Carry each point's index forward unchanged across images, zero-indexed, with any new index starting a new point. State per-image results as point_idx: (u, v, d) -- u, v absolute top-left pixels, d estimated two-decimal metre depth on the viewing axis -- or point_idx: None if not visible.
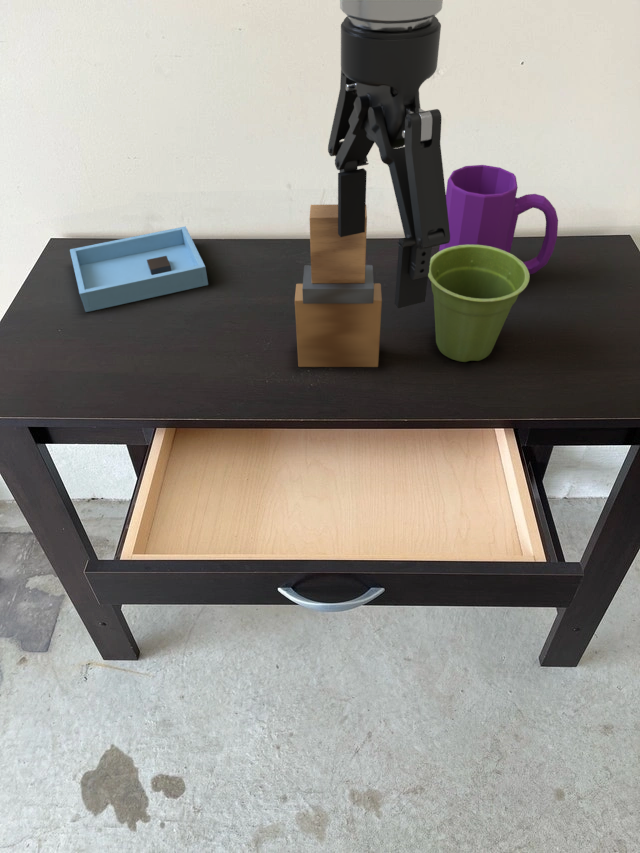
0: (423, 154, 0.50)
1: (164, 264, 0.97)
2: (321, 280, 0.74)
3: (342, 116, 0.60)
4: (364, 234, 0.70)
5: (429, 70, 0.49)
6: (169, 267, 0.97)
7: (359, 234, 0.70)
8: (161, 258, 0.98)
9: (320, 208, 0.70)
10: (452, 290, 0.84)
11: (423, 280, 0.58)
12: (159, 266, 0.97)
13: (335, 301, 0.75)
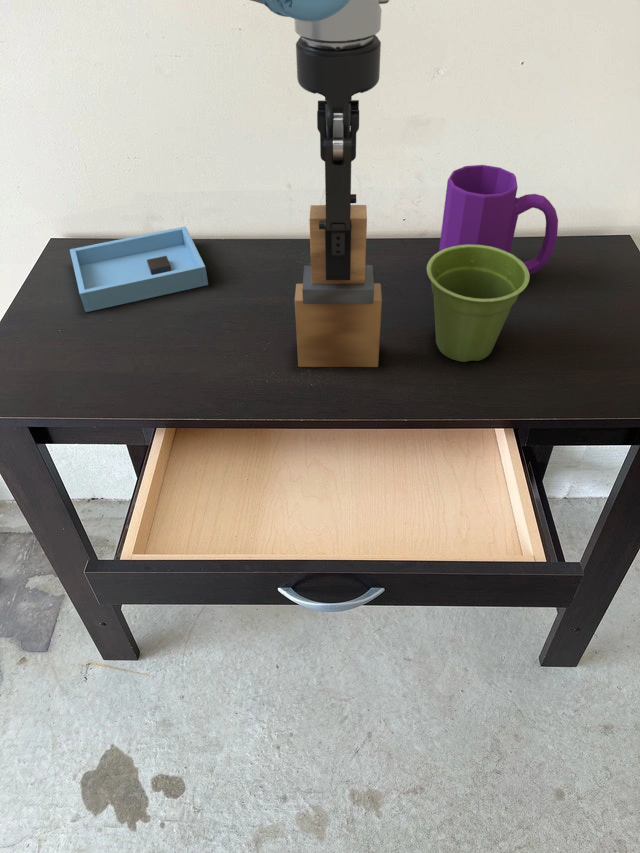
0: (335, 170, 0.60)
1: (164, 264, 0.97)
2: (321, 280, 0.74)
3: None
4: (364, 235, 0.70)
5: (359, 86, 0.58)
6: (169, 267, 0.97)
7: (359, 235, 0.70)
8: (161, 258, 0.98)
9: (320, 209, 0.70)
10: (452, 290, 0.84)
11: (346, 261, 0.71)
12: (159, 266, 0.97)
13: (335, 301, 0.75)
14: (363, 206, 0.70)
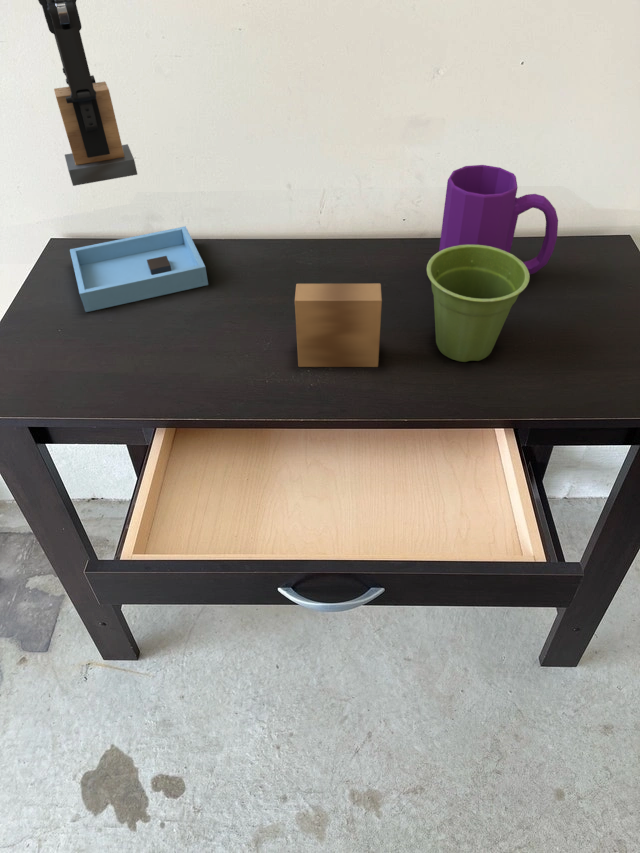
0: (65, 34, 0.68)
1: (164, 264, 0.97)
2: (84, 160, 0.81)
3: None
4: (111, 107, 0.78)
5: None
6: (169, 267, 0.97)
7: (106, 107, 0.78)
8: (161, 258, 0.98)
9: (64, 89, 0.77)
10: (452, 290, 0.84)
11: (101, 134, 0.79)
12: (159, 266, 0.97)
13: (102, 178, 0.82)
14: (102, 82, 0.78)
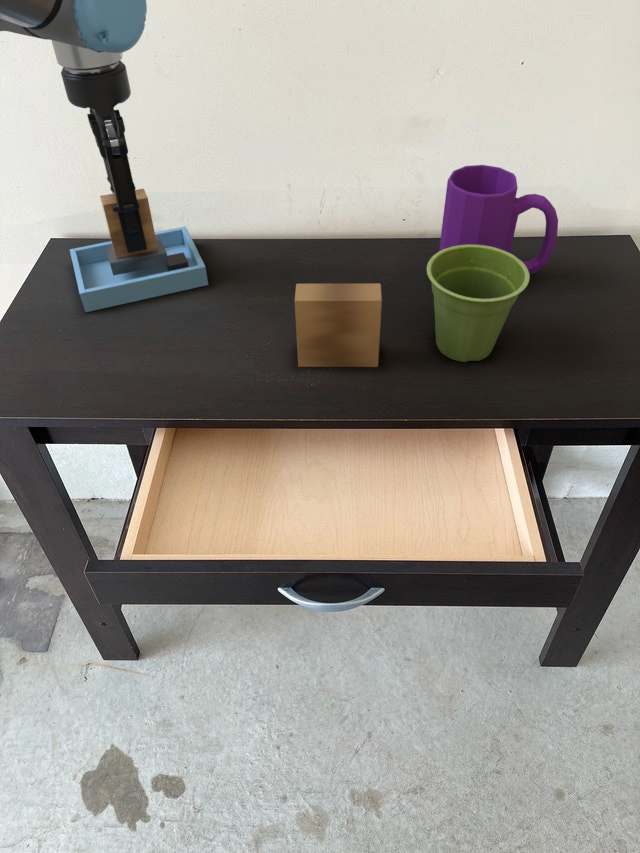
0: (116, 162, 0.80)
1: (181, 261, 0.98)
2: (123, 254, 0.93)
3: None
4: (148, 211, 0.90)
5: (118, 98, 0.78)
6: (186, 264, 0.98)
7: (145, 211, 0.90)
8: (178, 255, 0.99)
9: (108, 197, 0.89)
10: (452, 290, 0.84)
11: (140, 234, 0.91)
12: (177, 263, 0.97)
13: (138, 268, 0.94)
14: (141, 190, 0.91)
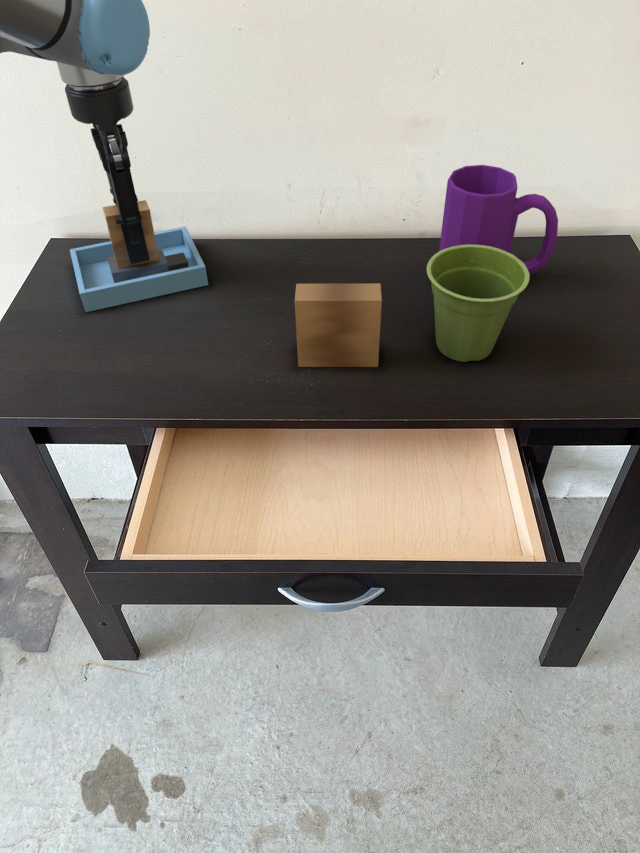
0: (119, 176, 0.82)
1: (181, 261, 0.98)
2: (125, 264, 0.94)
3: None
4: (150, 222, 0.92)
5: (121, 114, 0.79)
6: (186, 264, 0.98)
7: (146, 223, 0.91)
8: (178, 255, 0.99)
9: (111, 208, 0.90)
10: (452, 290, 0.84)
11: (143, 245, 0.93)
12: (177, 263, 0.97)
13: None
14: (143, 201, 0.92)
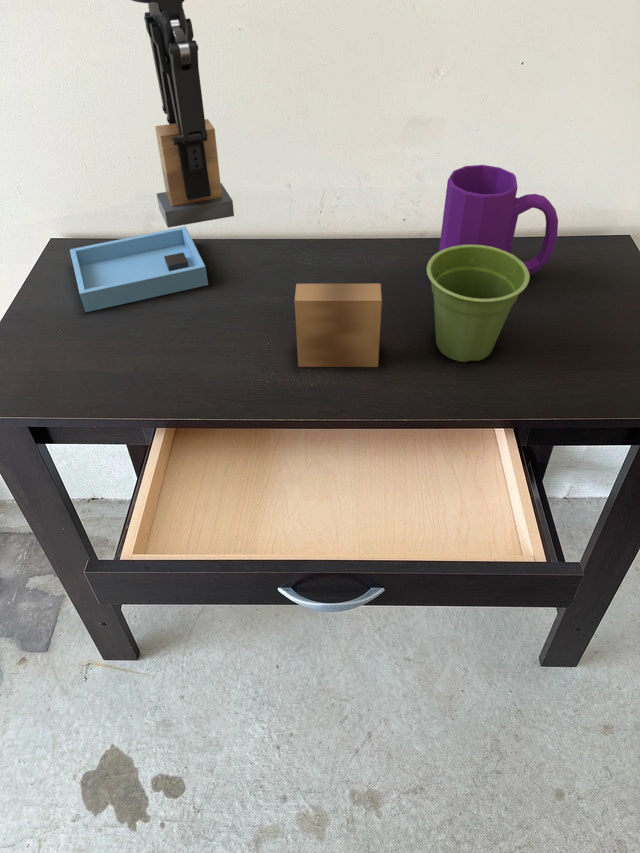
0: (184, 75, 0.63)
1: (181, 261, 0.98)
2: (180, 201, 0.76)
3: None
4: (214, 146, 0.73)
5: None
6: (186, 264, 0.98)
7: (210, 147, 0.73)
8: (178, 255, 0.99)
9: (166, 127, 0.72)
10: (452, 290, 0.84)
11: (204, 176, 0.74)
12: (177, 263, 0.97)
13: (198, 220, 0.77)
14: (205, 120, 0.73)
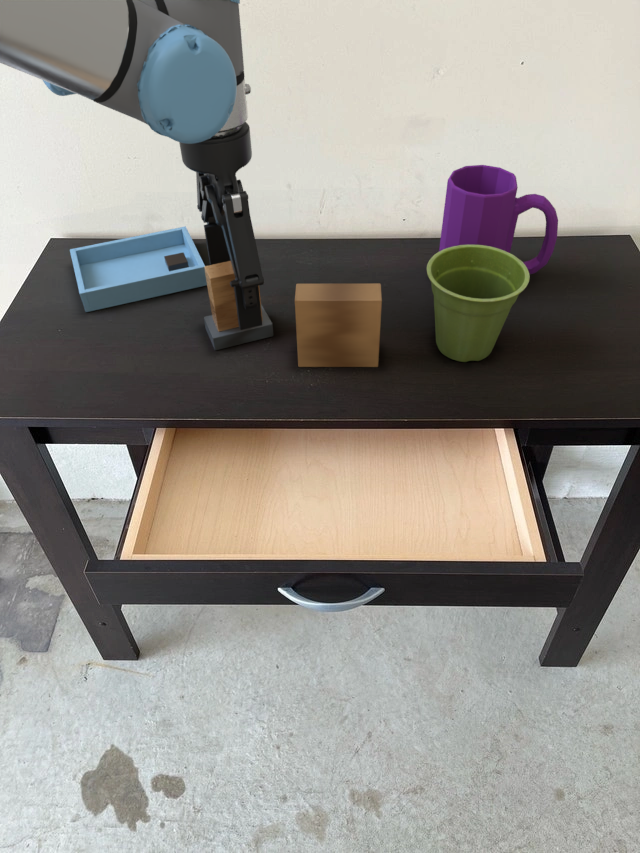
0: (237, 222, 0.69)
1: (181, 261, 0.98)
2: (226, 327, 0.85)
3: (200, 184, 0.79)
4: None
5: (241, 162, 0.69)
6: (186, 264, 0.98)
7: None
8: (178, 255, 0.99)
9: (214, 268, 0.81)
10: (452, 290, 0.84)
11: (256, 309, 0.77)
12: (177, 263, 0.97)
13: (242, 341, 0.86)
14: None
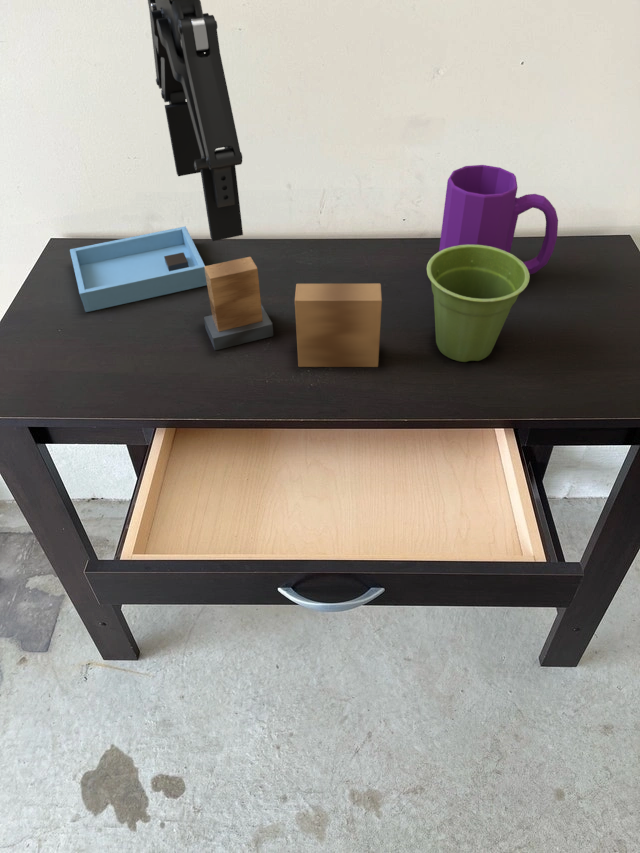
0: (201, 64, 0.47)
1: (181, 261, 0.98)
2: (226, 327, 0.85)
3: None
4: (257, 282, 0.82)
5: None
6: (186, 264, 0.98)
7: (253, 283, 0.82)
8: (178, 255, 0.99)
9: (214, 268, 0.81)
10: (452, 290, 0.84)
11: (235, 210, 0.55)
12: (177, 263, 0.97)
13: (242, 341, 0.86)
14: (248, 258, 0.82)
